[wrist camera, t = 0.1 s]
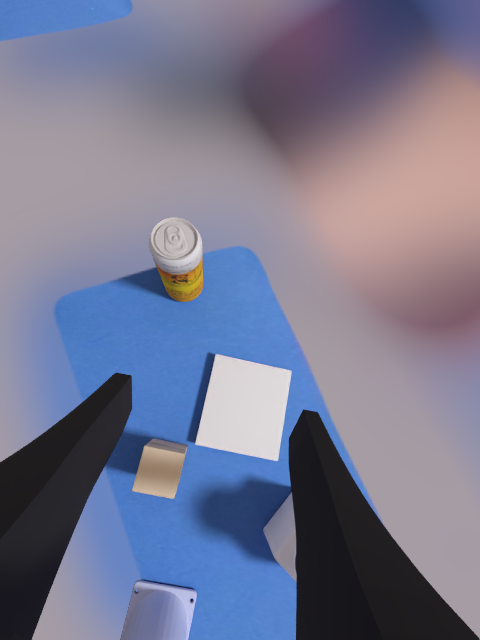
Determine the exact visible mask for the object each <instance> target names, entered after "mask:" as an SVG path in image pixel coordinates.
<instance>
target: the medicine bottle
mask: <svg viewBox="0 0 480 640" xmlns="http://www.w3.org/2000/svg"><path fill="white" fill-rule="evenodd" d="M263 531H264V534H265V536H266V539H267V541H268V544H269V546H270V549H271V551H272V553H273V556H274V558H275V560H276V561H277V562H278V563H279V564H280V565H281V566H282V567H283V568H284V569H285V570H286V571H287V572H288V574H289V575H290V576H291V577H292V578H293V579H294V580H295V581H296V582H297V563H296V530H295V518H294V509H293V500H292V492H291V494H290V495H289V496H288V497H287V499H286V500H285V501H284V503H283V504H282V505H281V507H280V508H279V509H278V510H277V512H276V513H275V514H274V516H273V517H272V518H271V519H270V521H269V522H268V523H267V525H266V526H265V527H264V529H263Z"/></svg>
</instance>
